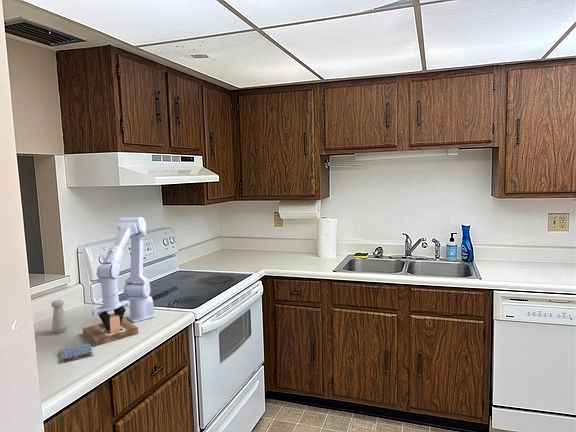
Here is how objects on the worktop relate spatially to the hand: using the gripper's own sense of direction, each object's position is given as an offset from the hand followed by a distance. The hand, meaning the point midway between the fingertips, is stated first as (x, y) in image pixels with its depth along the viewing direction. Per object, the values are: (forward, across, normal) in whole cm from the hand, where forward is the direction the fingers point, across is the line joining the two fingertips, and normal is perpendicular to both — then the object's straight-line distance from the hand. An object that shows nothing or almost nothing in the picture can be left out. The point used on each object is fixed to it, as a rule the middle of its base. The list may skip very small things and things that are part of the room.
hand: (113, 328), depth 164 cm
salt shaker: (+4, +10, -24) cm, 26 cm away
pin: (+2, 0, 0) cm, 2 cm away
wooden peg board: (+3, -1, -4) cm, 5 cm away
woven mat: (+4, +16, +3) cm, 17 cm away
